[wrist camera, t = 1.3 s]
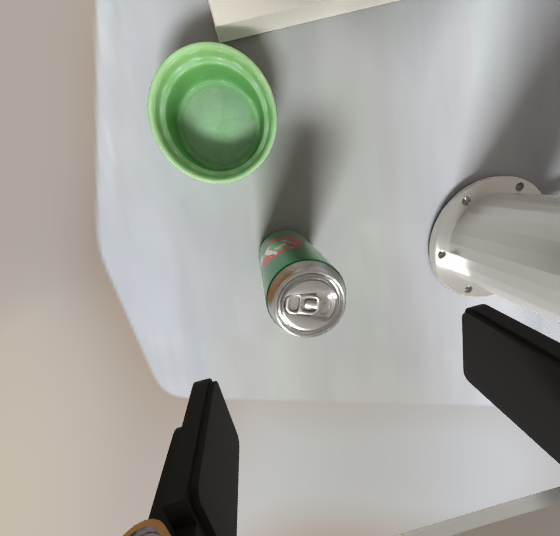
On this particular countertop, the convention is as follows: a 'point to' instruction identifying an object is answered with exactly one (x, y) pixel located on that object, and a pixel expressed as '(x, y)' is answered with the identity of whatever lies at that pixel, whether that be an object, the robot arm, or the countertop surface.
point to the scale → (275, 14)
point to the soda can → (300, 285)
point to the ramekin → (212, 112)
